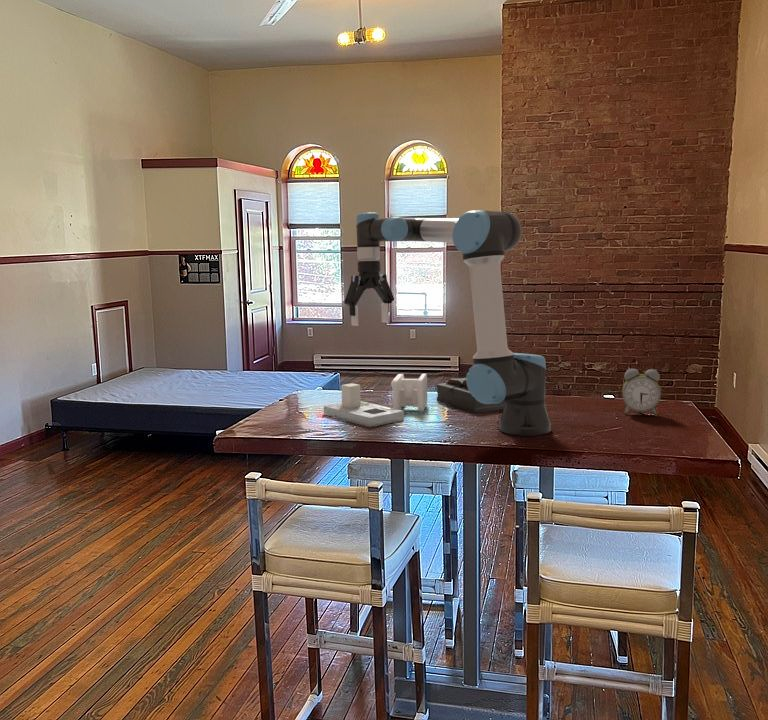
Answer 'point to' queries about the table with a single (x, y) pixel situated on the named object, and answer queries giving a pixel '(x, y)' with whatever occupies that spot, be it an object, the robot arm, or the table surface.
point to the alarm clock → (641, 390)
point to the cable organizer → (409, 392)
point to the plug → (351, 395)
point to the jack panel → (365, 414)
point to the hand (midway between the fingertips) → (370, 324)
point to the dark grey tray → (463, 397)
